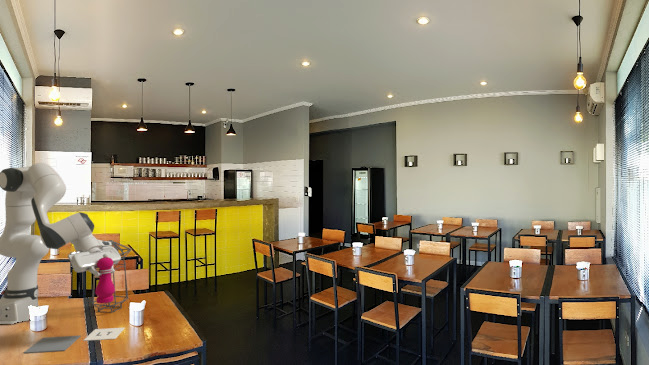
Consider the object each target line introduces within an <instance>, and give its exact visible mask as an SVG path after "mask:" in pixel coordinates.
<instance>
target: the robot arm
mask: <svg viewBox="0 0 649 365" xmlns="http://www.w3.org/2000/svg"><path fill="white" fill-rule="evenodd" d="M0 188H1V190H3V191H5V200H4V201H5V203H4V205H5V207H4V208H5V226H4V229H3V231H2V233H1V236H0V255H1V256H4V257H6V258H15V263H14V266H13V267H12V268H10V270H8V272H7V288H6V289H4V290H3V291H1V292H0V295H1V296H2V295H3V296H2V298H0V324H11V325H15V324H14V323H16V324H18V323H17V322H19V323H22V321H23V322H27V321H30V320H29V309H28V306H30V305H32V306H36V307H38V306H39V307H40V305H39V285H38V270H39V266H40V263H41V261H42V260H43V258H44V257H45V256H46V255H47V254H48V253H49V251H50V249H51V250H59V249H60V248H62V247H64V246H65V245H66V244H69V243H70V244H71V245H73V247H74V250H75V251H71V252H69V254H68V255H67V258H68V260H69V261H70V265H71V266H72V269H73V270H74V272H76V273H77V274H78V273H84V272H89V273H91V274H93V275H94V274H95V278H100V276H101V275H102V273H101V272H100V271H98V270H96V269H99V268H98V267H97V262H98V260H99V259H101V258H104V257H103V255H104V254H107V255H108V257H109V258H111V259H112V260H113V266H112V267H111V268H112V272H111V275H113V273H114V274H115V271H116V269H115V270H114V265H116V264H117V263H118V264H119V262H120V261H121V260H122V259H121V258H122V256H120V255H121V254H120V252H119V251H118V252H119V253H118V252H117V250H116V249H115V248H114V246H113V247H112V244H111V242H109V240H101V239H97V238H96V236H94V235H93V232H94V229H95V224H94V222H93V220H92V219H90V216H89V215H88V214H87V213H85V212H81V211H80V212H76V213H74V214H70V215H69V216H67V217H64V218H62V219H60V220H58V221H55V222H54V223H50V219H49V217H48V211H49V210H50V209H51V208H53V206H55V205H56V204H57V203H58V202H60V201H61V200H62V199H63V197H65V194H66V191H67V186H66V184H65V182H64V180H63V179H62V177H61V176H60V175H59V173H58V172H57V171H56V170H55V169H54V167H52V166H50V165H49V164H48V163H45V162H38V163H33V164H32V165H30V166H23V167H22V166H21V167H8V168H5V169H2V170H1V171H0ZM35 222H36V223H37V226H38V229H39V235H37V234H29V231H30V229H31V225H33V224H34V223H35Z"/></svg>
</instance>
